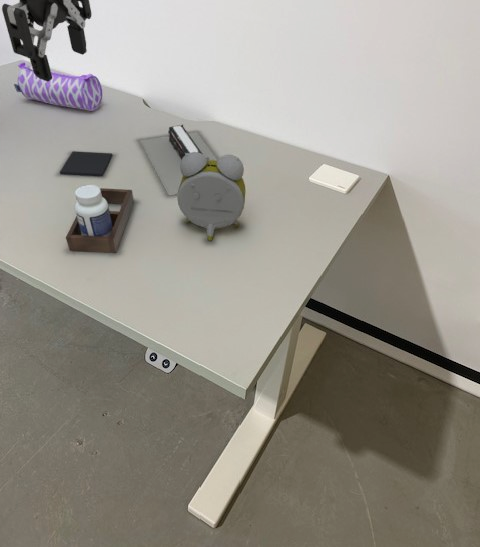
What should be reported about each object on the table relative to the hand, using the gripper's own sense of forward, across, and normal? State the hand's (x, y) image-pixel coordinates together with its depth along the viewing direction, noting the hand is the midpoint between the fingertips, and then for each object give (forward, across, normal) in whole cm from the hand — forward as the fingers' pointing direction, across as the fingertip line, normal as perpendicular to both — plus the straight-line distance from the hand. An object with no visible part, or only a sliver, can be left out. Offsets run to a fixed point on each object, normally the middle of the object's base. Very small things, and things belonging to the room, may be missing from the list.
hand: (62, 65), depth 63 cm
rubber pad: (+29, -8, -7) cm, 31 cm away
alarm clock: (+23, +1, +27) cm, 35 cm away
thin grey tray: (+29, -19, +11) cm, 36 cm away
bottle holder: (+24, +8, +8) cm, 27 cm away
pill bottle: (+24, +11, +9) cm, 28 cm away
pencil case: (+37, -32, -31) cm, 58 cm away
